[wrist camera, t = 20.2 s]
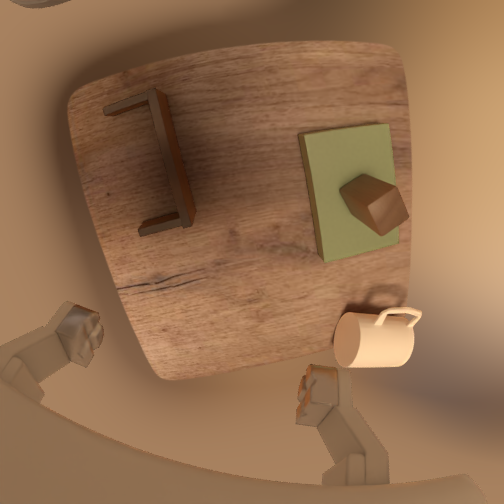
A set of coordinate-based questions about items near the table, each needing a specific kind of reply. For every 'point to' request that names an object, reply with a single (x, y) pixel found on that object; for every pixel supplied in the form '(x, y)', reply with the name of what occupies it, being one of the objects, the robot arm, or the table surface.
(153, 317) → the table surface
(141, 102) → the frame
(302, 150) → the board
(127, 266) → the table surface
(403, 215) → the wooden block
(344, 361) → the cup
